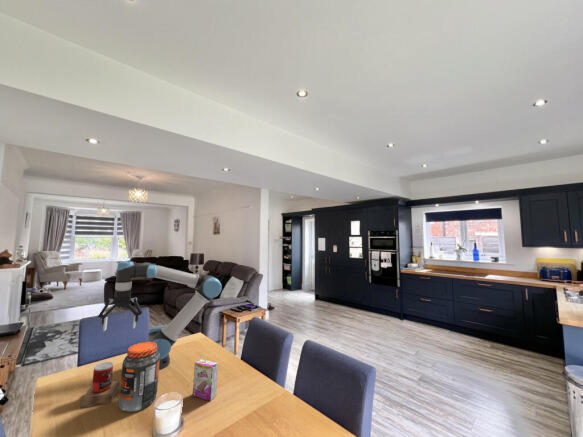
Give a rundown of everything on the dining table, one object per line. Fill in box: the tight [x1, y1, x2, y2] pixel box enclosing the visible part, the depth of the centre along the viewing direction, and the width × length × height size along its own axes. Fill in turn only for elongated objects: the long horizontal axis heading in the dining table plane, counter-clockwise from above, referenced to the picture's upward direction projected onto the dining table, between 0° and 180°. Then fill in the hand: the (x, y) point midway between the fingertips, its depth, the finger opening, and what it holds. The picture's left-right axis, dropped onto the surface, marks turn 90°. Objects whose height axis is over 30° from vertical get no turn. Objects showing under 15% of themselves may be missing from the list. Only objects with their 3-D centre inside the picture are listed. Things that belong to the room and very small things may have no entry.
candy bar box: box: [192, 358, 219, 402], centre depth 125 cm, size 11×5×16 cm, turn 71°
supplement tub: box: [118, 341, 160, 413], centre depth 120 cm, size 16×16×26 cm
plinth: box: [79, 380, 120, 409], centre depth 121 cm, size 12×12×4 cm
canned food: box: [91, 361, 114, 393], centre depth 122 cm, size 8×8×11 cm
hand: (119, 329), depth 135 cm, fingers open, 13 cm apart
